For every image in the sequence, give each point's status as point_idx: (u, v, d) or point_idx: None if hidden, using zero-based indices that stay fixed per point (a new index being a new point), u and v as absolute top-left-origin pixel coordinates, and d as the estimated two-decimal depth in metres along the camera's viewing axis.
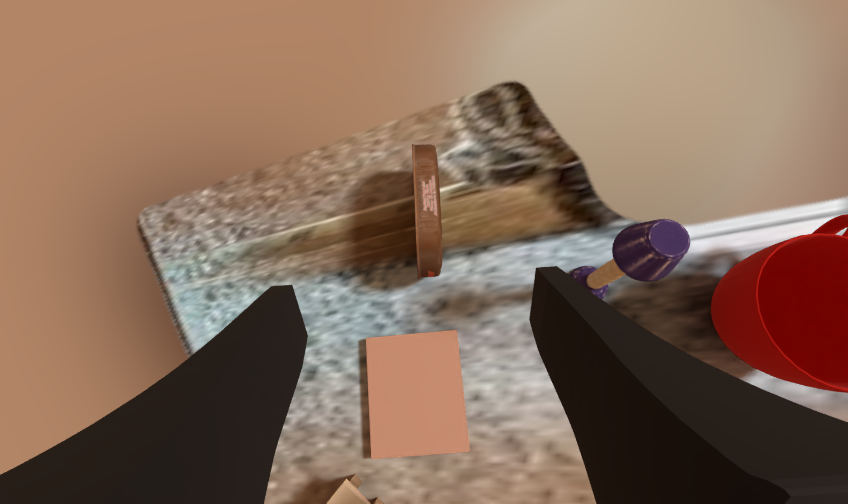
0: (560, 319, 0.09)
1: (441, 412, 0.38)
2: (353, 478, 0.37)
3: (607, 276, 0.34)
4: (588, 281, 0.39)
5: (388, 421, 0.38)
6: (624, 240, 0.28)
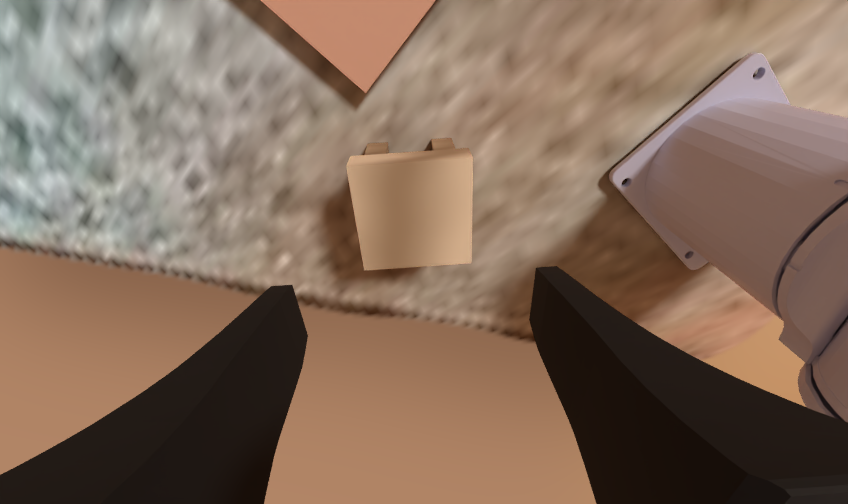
0: (560, 319, 0.09)
1: None
2: (368, 149, 0.18)
3: None
4: None
5: None
6: None
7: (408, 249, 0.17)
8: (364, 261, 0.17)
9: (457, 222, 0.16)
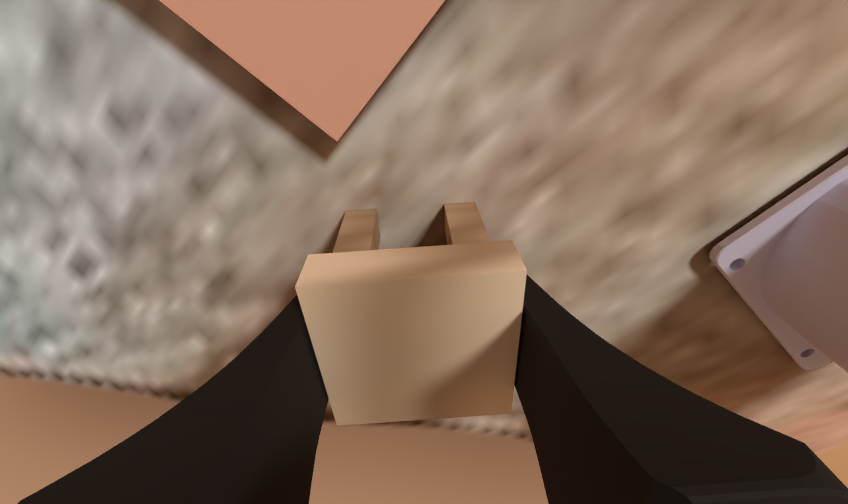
0: None
1: None
2: (345, 225, 0.11)
3: None
4: None
5: None
6: None
7: (408, 398, 0.10)
8: (336, 414, 0.10)
9: (492, 363, 0.09)
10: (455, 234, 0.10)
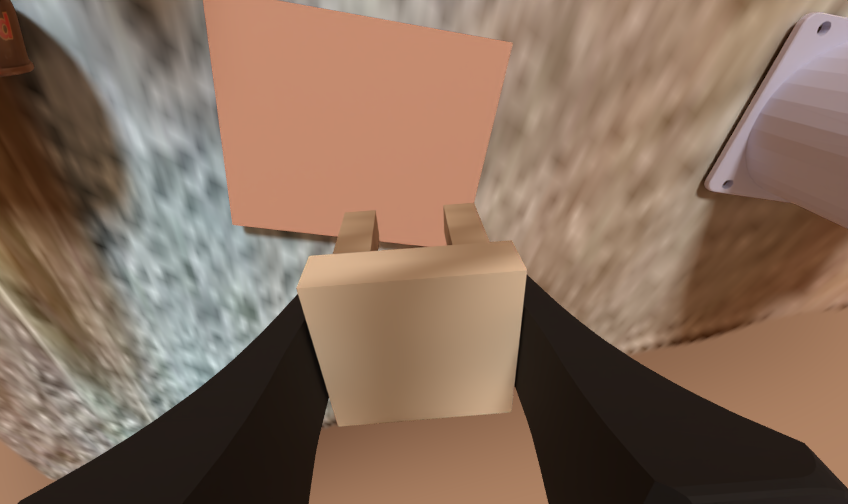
0: None
1: (411, 93, 0.16)
2: (345, 226, 0.11)
3: None
4: None
5: (405, 210, 0.19)
6: None
7: (410, 398, 0.10)
8: (338, 415, 0.10)
9: (493, 362, 0.10)
10: (455, 234, 0.10)
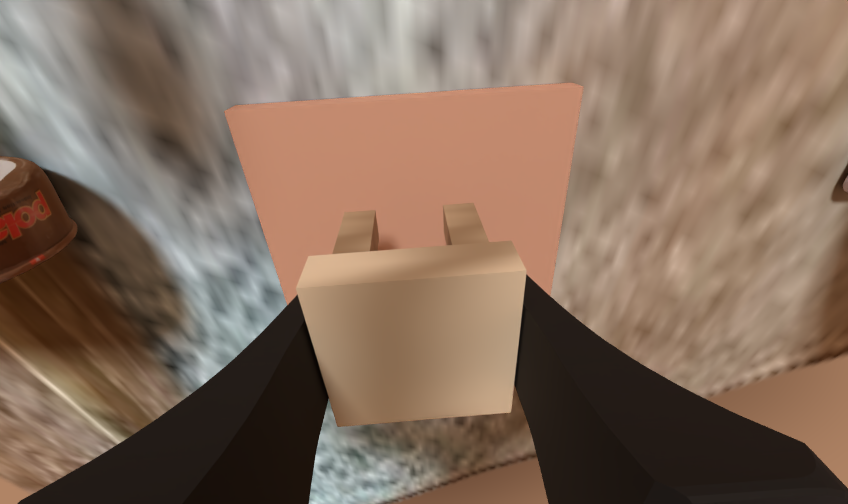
0: None
1: (468, 166, 0.14)
2: (345, 226, 0.11)
3: None
4: None
5: None
6: None
7: (409, 398, 0.10)
8: (337, 415, 0.10)
9: (492, 362, 0.10)
10: (454, 235, 0.10)
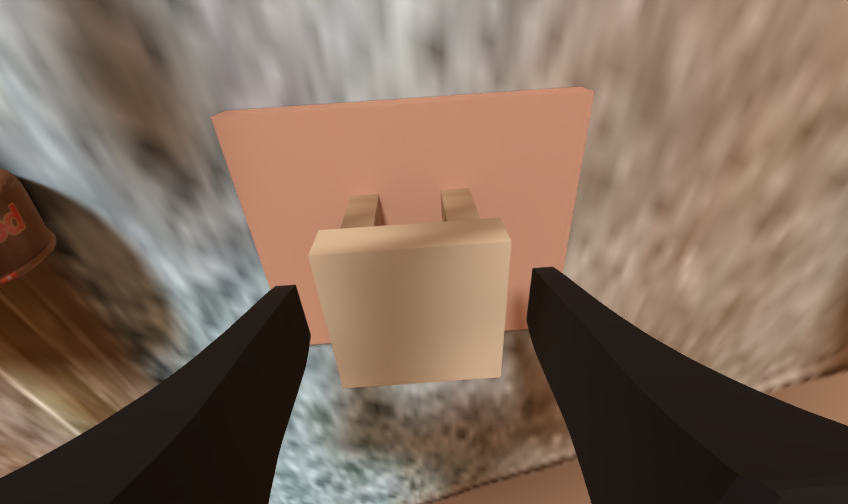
0: (556, 320, 0.09)
1: (471, 175, 0.13)
2: (350, 207, 0.12)
3: None
4: None
5: None
6: None
7: (408, 362, 0.11)
8: (343, 377, 0.11)
9: (483, 328, 0.11)
10: (450, 214, 0.11)
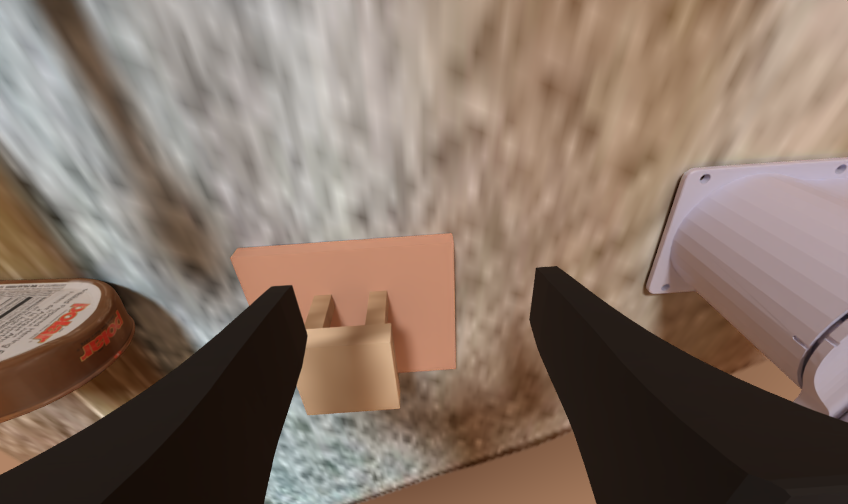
0: (560, 319, 0.09)
1: (387, 284, 0.21)
2: (313, 306, 0.21)
3: None
4: None
5: (403, 351, 0.24)
6: None
7: (344, 400, 0.19)
8: (307, 409, 0.20)
9: (383, 382, 0.19)
10: (368, 315, 0.20)
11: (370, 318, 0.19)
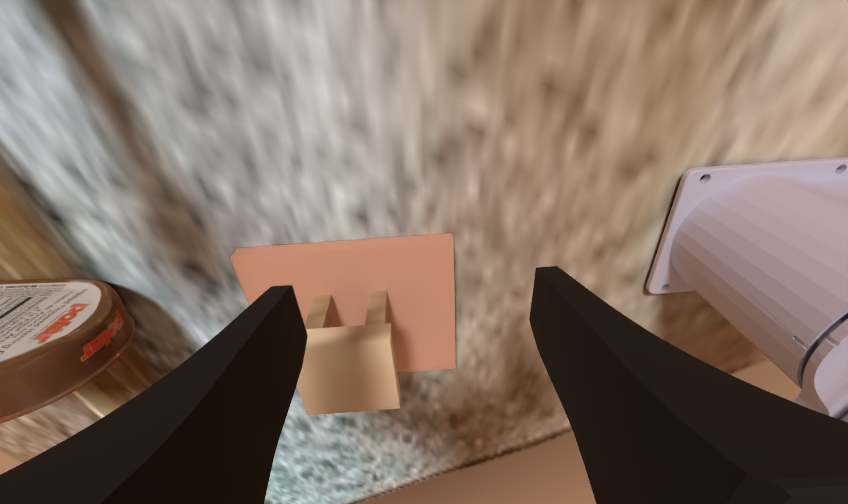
0: (560, 319, 0.09)
1: (387, 284, 0.21)
2: (313, 306, 0.21)
3: None
4: None
5: (403, 351, 0.24)
6: None
7: (344, 400, 0.19)
8: (307, 409, 0.20)
9: (383, 382, 0.19)
10: (368, 315, 0.20)
11: (370, 318, 0.19)
